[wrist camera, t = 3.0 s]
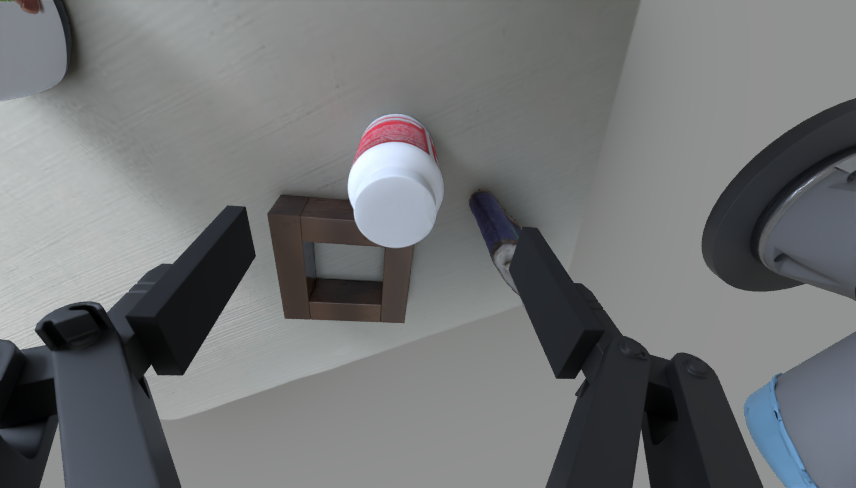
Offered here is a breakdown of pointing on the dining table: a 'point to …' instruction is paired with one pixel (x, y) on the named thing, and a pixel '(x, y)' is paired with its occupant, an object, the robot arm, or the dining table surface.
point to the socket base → (325, 298)
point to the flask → (496, 232)
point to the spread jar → (32, 46)
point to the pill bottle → (395, 182)
